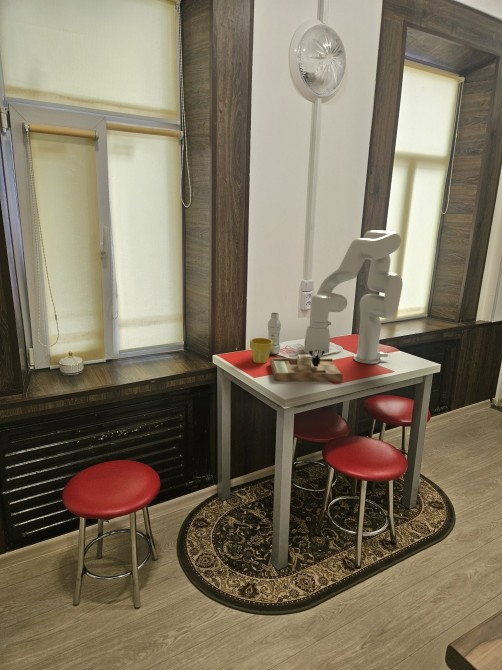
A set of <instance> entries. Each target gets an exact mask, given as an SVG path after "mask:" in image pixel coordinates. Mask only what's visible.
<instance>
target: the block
mask: <svg viewBox="0 0 502 670" xmlns="http://www.w3.org/2000/svg"><path fill="white" fill-rule="evenodd" d="M297 358H298V361H297V366H298V368H299V370H311V359H312V356H311V354H297Z"/></svg>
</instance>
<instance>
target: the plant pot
mask: <svg viewBox="0 0 502 670" xmlns="http://www.w3.org/2000/svg"><path fill="white" fill-rule="evenodd" d="M272 344H273V342H272V340H270V339H268V338H265V337H254V338H251V339H250V340H249V348H250V349H251V350H250V351H251V356H252V360H253V362H254V363H257V364H265V363H267V362H268V361H269V358H270V355H271V354H270V350H271V349H272Z"/></svg>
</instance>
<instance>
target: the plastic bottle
mask: <svg viewBox="0 0 502 670" xmlns="http://www.w3.org/2000/svg"><path fill="white" fill-rule="evenodd" d="M279 315H280V314H279V313H278V312H271V313H270V319H269V320H268V322H267V331H268V334H267V335H268V336H267V337H268V338H267V339H270V340H272V342H273V344H272V349H271V350H270V354H269V355H277V354H276V353H278V354H279V353H280V350H281V345H280V344H281V343H280V334H281V327H282V323H281V321H280V319H279Z"/></svg>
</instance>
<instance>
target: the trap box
mask: <svg viewBox="0 0 502 670" xmlns="http://www.w3.org/2000/svg"><path fill="white" fill-rule="evenodd" d="M297 361H298V357H297V358H296V357H295V358H294V357H270V363H269V364H270V369H271V371H272V372H271V373H272V375H273V379H274V381H275V382H343V376H344V374H343V372H341V371H340V370H339V368H338V367H337V365H336V364H335V363H334V360H333V358H329V357H328V358H325V357H324V358H322V357H321V358H320V364H318V367H317V366H316V367H314V365H313V364H312V359H311V370H299V368H298V366H297Z"/></svg>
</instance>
